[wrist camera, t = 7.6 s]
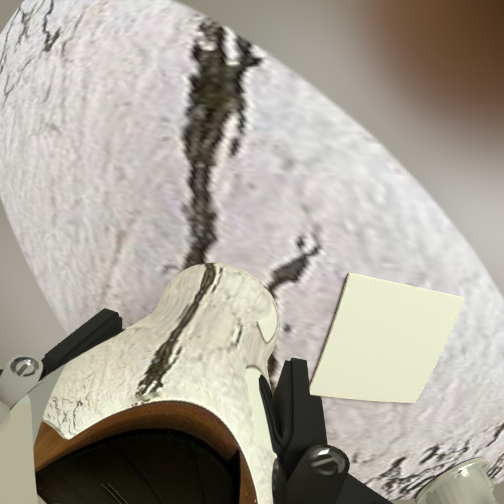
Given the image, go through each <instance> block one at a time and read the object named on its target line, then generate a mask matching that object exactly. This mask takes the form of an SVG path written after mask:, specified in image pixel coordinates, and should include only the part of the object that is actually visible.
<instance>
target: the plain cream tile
mask: <svg viewBox="0 0 504 504" xmlns="http://www.w3.org/2000/svg"><path fill="white" fill-rule="evenodd" d="M464 300H465V298H463V297H460V296H456V295H451V294H447V293H442V292H437V291H433V290H428V289H424V288H419V287H414V286H410V285H405V284H401V283H396V282H391V281H387V280H382V279H378V278H373V277H368V276H364V275H359V274H354V273H350V272H349V273H348V276H347V279H346V283H345V286H344V289H343V293H342V296H341V299H340V302H339V305H338V308H337V311H336V314H335V317H334V320H333V323H332V326H331V329H330V332H329V335H328V338H327V341H326V344H325V346H324V349H323V352H322V355H321V357H320V360H319V363H318V365H317V368H316V371H315V373H314V376H313V379H312V381H311V384H310V386H309V388H310V394H311V395H319V396H327V397H335V398H345V399H355V400H367V401H382V402H403V403H415V402H416V400H417V399H418V397H419V395H420V394H421V392H422V390H423V388H424V386H425V385H426V383H427V381H428V379H429V377H430V375H431V374H432V372H433V370H434V368H435V366H436V364H437V362H438V360H439V358H440V356H441V354H442V352H443V349H444V347H445V345H446V343H447V341H448V339H449V336H450V334H451V332H452V330H453V327H454V325H455V323H456V320H457V318H458V315H459V313H460V310H461V308H462V305H463V303H464Z"/></svg>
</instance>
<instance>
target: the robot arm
mask: <svg viewBox="0 0 504 504" xmlns="http://www.w3.org/2000/svg"><path fill="white" fill-rule="evenodd" d="M121 330H122V318H121V317H119V314H118V312H115V311H112V310H109V309H106V308H105V309H103V310H102V311H100V312H99V313H98V314H96V315H95V316H94V317H92V318H91V319H90V320H88V321H87V322H86V323H85V324H83V325H82V326H81V327H79V328H78V329H77V330H76V331H74V332H73V333H72V334H70V335H69V336H68V337H67V338H65V339H64V340H63V341H62V342H61V343H59V344H58V345H57V346H55V347H54V348H53V349H51V350H50V351H49V352H48V353H47V354H45V357H44V358H43V359H42V360H40V359H39V358H37V357H36V356H33V355H30V354H21V355H17V356H14V357H13V358H11V359H10V360H9V361H8V363H7V365H6V367H5V369H4V370H0V425H1V424H2V423H3V422H4V420H5V419H6V418H7V417H8V416H9V415H10V406H11V405H12V404H13V403H14V402H15V401H16V400H18V399H19V398H20V397H21V396H22V395H24V394H25V393H26V392H27V391H28V390H29V389H31V388H32V387H33V386H34V385H35V384H37V383H38V382H39V381H40V380H41V379H43V378H44V377H45V376H46V375H47V374H49V373H50V372H52V371H53V370H55V369H56V368H58V367H59V366H61V365H63V364H64V363H66V362H67V361H69V360H70V359H72V358H73V357H75V356H77V355H78V354H80V353H81V352H83V351H84V350H86V349H88V348H90V347H92V346H93V345H95V344H97V343H99V342H101V341H103V340H104V339H106V338H108V337H110V336H112V335H113V334H115V333H117V332H119V331H121ZM273 400H274V404H275V409H276V414H277V419H278V423H279V428H280V433H281V438H282V444H283V451H284V458H285V465H286V472H287V480H288V481H287V504H393V503H392V502H390V501H388V500H387V499H385V498H384V497H382V496H381V495H379V494H378V493H376V492H375V491H373V490H372V489H370V488H369V487H367V486H366V485H364V484H363V483H362V482H360V481H359V480H357V479H356V478H354V477H353V476H352V475H350V474H349V473H348V471H349V467H350V462H349V458H348V457H347V455H346V454H345V453H344V452H343V451H341V450H340V449H338V448H336V447H334V446H331V445H327V437H326V429H325V421H324V413H323V406H322V400H321V397H320V396H314V395H310V388H309V378H308V368H307V361H306V360H302V359H297V358H291V360H290V361H287V360H286V361H285V363H284V366H283V369H282V372H281V375H280V378H279V381H278V384H277V387H276V390H275V393H274V396H273ZM488 469H489V463H488V461H487V460H486V459H485V458H475V459H471V460H468V461H466V462H463V463H461V464H459V465H457V466H455V467H453V468H451V469H450V470H448V471H446V472H444V473H443V474H441V475H440V476H438V477H437V478H435V479H434V480H433V481H431V482H430V483H429V484H428V485H426V486H425V487H424V488H423V489H422V490H421V491H420V493H419V494H418V495H417V497H416V500H415V502H416V504H497V502H496V500H495V498H494V495H493V493H492V492H493V488H494V487H493V485H495V484H496V483H497V478H492V479H490V480H489V479H488V477H487V475H486V473H487V471H488Z"/></svg>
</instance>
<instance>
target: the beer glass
mask: <svg viewBox="0 0 504 504" xmlns="http://www.w3.org/2000/svg"><path fill="white" fill-rule="evenodd" d="M279 326H280V320H279V313H278V309H277V306H276V304H275V301H274V299H273V297H272V296H271V294H270V292H269V291H268V289H267V288H266V287H265V286H264V285H263V284H262V282H261V281H259V280H258V279H257V278H256V277H255V276H253V275H252V274H250V273H249V272H247V271H245V270H243V269H241V268H239V267H236V266H233V265H229V264H224V263H204V264H199V265H195V266H192V267H190V268H187V269H185V270H184V271H182V272H180V273H179V274H178V275H177V276H175V277H174V278H173V279H172V280H171V282H170V283H169V284H168V285H167V287H166V288H165V290H164V292H163V293H162V295H161V298H160V300H159V302H158V304H157V306H156V308H155V310H154V311H153V312H152V313H151V314H149V315H148V316H147V317H145V318H143V319H141V320H140V321H138V322H136V323H134V324H133V325H131V326H129V327H127V328H125V329H123V330H121V331H119V332H117V333H115V334H113V335H112V336H110V337H108V338H106V339H104V340H103V341H101V342H99V343H97V344H95V345H93V346H92V347H90V348H88V349H86V350H84V351H83V352H81V353H80V354H78V355H77V356H75V357H73V358H72V359H70V360H69V361H67V362H66V363H64V364H63V365H61V366H59V367H58V368H56V369H55V370H53V371H52V372H50V373H49V374H47V375H46V376H45V377H44V378H43V379H41V380H40V381H39V382H38V383H37V384H35V385H34V386H33V387H32V388H31V389H29V390H28V391H27V392H26V393H25V394H24V395H22V396H21V397H20V398H19V399H18V400H16V401H15V402H14V403H13V404H12V405H11V406H10V415H9V416H8V417H7V418H6V419H5V420H4V422H3V423H2V424H1V425H0V504H287V481H288V480H287V472H286V465H285V458H284V451H283V444H282V438H281V433H280V428H279V423H278V419H277V414H276V409H275V404H274V400H273V396H272V391H271V387H270V382H269V376H268V371H267V366H268V364H267V363H268V359H269V357H270V355H271V353H272V351H273V349H274V346H275V344H276V341H277V338H278V334H279Z"/></svg>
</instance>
